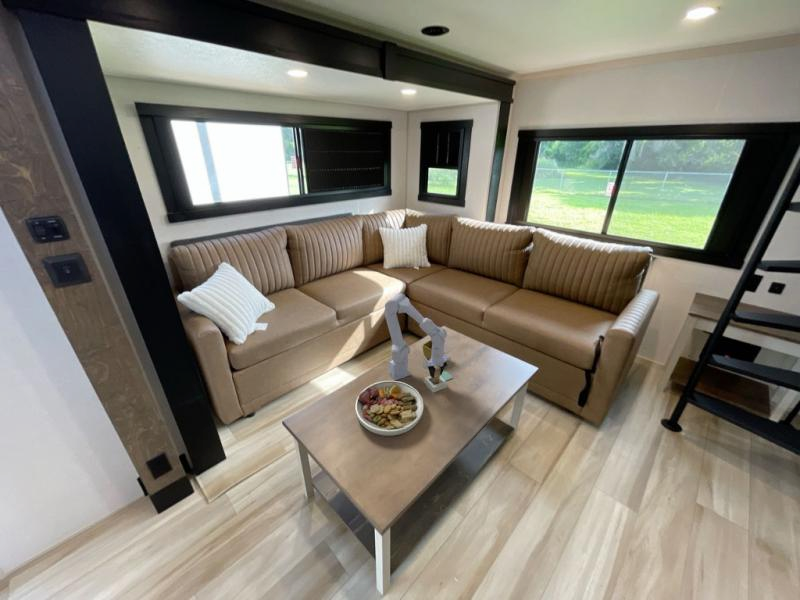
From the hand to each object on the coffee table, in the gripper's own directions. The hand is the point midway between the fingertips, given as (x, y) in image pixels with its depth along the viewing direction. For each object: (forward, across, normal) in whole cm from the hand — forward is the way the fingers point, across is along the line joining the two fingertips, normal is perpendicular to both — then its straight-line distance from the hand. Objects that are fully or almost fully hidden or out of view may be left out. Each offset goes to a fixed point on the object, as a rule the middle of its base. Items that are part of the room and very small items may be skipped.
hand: (435, 375), depth 151 cm
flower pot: (+6, +11, +19) cm, 23 cm away
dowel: (+4, 0, 0) cm, 4 cm away
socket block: (+6, 0, 0) cm, 6 cm away
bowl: (+7, -28, -5) cm, 29 cm away
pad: (+6, +8, +3) cm, 10 cm away
